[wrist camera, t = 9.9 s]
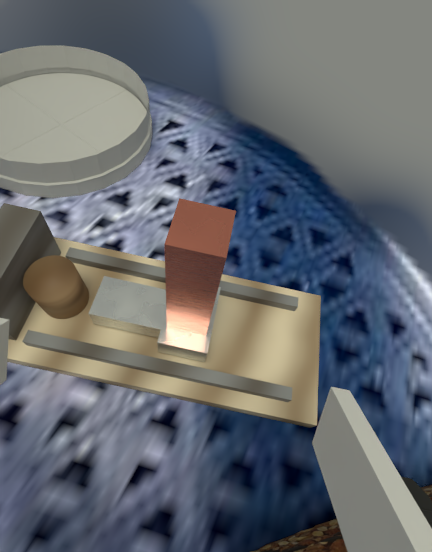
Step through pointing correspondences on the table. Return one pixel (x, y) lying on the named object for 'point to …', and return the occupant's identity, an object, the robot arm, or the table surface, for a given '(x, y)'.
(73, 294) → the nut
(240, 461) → the table surface
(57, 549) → the table surface
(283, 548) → the bread
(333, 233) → the table surface
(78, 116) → the dish
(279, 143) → the table surface
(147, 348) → the board
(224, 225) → the carriage
